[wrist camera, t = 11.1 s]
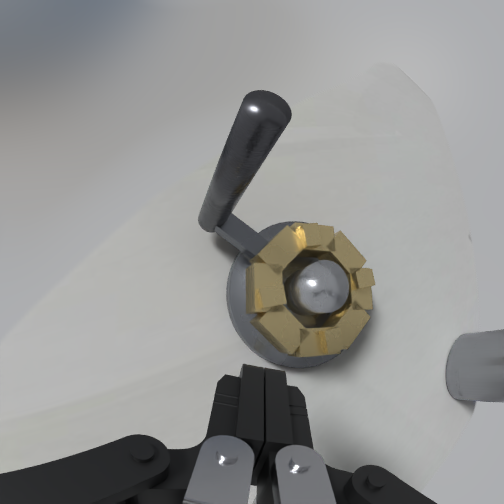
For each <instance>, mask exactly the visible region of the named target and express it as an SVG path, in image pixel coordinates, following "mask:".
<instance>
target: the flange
mask: <svg viewBox="0 0 504 504" xmlns="http://www.w3.org/2000/svg"><path fill="white" fill-rule="evenodd" d="M295 222H296V223H305V222H297V221H295ZM295 222H283V223H278V224H275V225H272V226H270V227H268V228H266V229H264V230H262V231H261V232H259V233H258V234H259V235H261V236H262V237H263V238H265V239H266V240H267V241H270V240H271V239H272V238H273V237H274V236H275V235H276V234H277V233H279V232H280V231H281V230H282V229H283V228H285V227H286V226H287V225H288V226H289V227H290V226H291V225H293V224H294V223H295ZM306 224H309V223H306ZM250 260H251V259H250V258H249V257H248V256H246V255H245V254H244V253H242V252H241V251H240V252H239V253H238V255H237V257H236V258H235V260H234V262H233V264H232V267H231V269H230V273H229V276H228V281H227V294H226V298H227V306H228V311H229V315H230V318H231V321H232V323H233V326H234V328H235V330H236V331H237V333H238V335H239V336H240V338H241V339H242V340H243V342H244V343H245V344H246V345H247V346H248V347H249V348H250V349H251V350H252V351H253V352H255V353H256V354H257V355H259V356H260V357H262V358H264V359H265V360H267V361H270V362H272V363H275V364H279V365H283V366H288V367H294V368H306V367H313V366H317V365H320V364H322V363H325V362H327V361H329V360H331V359H332V358H334V357H335V356H337V355H338V354H332V355H322V356H311V357H294V356H288V354H286V353H280V352H279V351H278V350H277V349H276V348H275V347H274V346H273V345H272V344H271V343H270V342H269V341H268V340H267V339H266V338H265V337H264V336H263V335H262V334H261V333H260V332H259V331H258V330H257V329H256V328H255V327H254V326H253V325H252V324H251V323H250V321H251V320H252V319H253V318H254V317H255V316H256V315H257V314H246V268H248V267H249V266H251V265H252V264H251V263H250V262H249V261H250ZM282 282H283V286H284V291H285V296H286V301H287V304H283V305H284V306H285V307H286V308H287V309H288V310H289V311H290V312H291V314H292V315H293V316H294V317H295V318H296V319H297V320H298V321H299V322H300V323H301V324H302V325H303V326H304V327H305V328H320V327H321V326H322V325H323V324H324V323H325V321H326V320H327V319H328V318H329V316H330V315H331V314H332V313H333V312H334V311H336V310H338V309H339V308H341V307H342V306H343V305H344V303H345V302H346V300H347V297H348V294H349V283H348V279H347V276H346V274H345V272H344V271H343V269H342V268H341V267H340V266H339V265H338V264H336V263H335V262H332V261H329V260H320V261H319V260H318V259H317V258H309V257H295V258H294V259H293V260H292V261H291V262H290V263H289V264H288V265H287V266H286V267H285V268H284V269H283V271H282ZM343 350H344V349H342V350H341V352H342V351H343Z"/></svg>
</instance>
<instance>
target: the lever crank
mask: <svg viewBox="0 0 504 504" xmlns="http://www.w3.org/2000/svg"><path fill="white" fill-rule="evenodd" d="M291 116H292V113H291V109H290V107H289V105H288V104H287V103H286V101H285V100H284V99H282V98H281V97H280V96H278V95H276V94H274V93H272V92H269V91H264V90H257V91H253V92H250V93H248V94H247V95H246V96H245V98H244V99H243V102H242V104H241V107H240V109H239V111H238V114H237V116H236V119H235V121H234V124H233V126H232V129H231V131H230V134H229V136H228V138H227V141H226V144H225V146H224V149H223V151H222V154H221V156H220V159H219V162H218V164H217V167H216V170H215V172H214V175H213V178H212V180H211V183H210V186H209V188H208V191H207V194H206V197H205V200H204V202H203V205H202V208H201V211H200V214H199V217H198V221H199V224H200V226H201V228H202V229H204V230H205V231H207V232H216V233H217V234H219V235H220V236H221V237H223V238H224V239H225V240H227V241H228V242H229V243H231V244H232V245H233V246H235V247H236V248H237V249H238V250H240V251H241V252H242V253H244V254H245V255H246V256H248V257H249V258H250V259H251V260H250V261H249V262H250V263H251V264H252V265H251V266H249V267H248V268H246V314H257V315H256V316H255V317H254V318H253V319H252V320H251V321H250V323H251V324H252V325H253V326H254V327H255V328H256V329H257V330H258V331H259V332H260V333H261V334H262V335H263V336H264V337H265V338H266V339H267V340H268V341H269V342H270V343H271V344H272V345H273V346H274V347H275V348H276V349H277V350H278V351H279V352H280V353H286V354H288V356H294V357H311V356H322V355H332V354H341V350H342V349H348V348H349V347H350V345H351V344H352V343H353V341H354V340H355V338H356V337H357V336H358V334H359V333H360V331H361V330H362V329H363V327H364V326H365V324H366V323H367V321H368V320H369V319H370V316H369V315H368V314H367V312H366V311H365V310H371V309H373V307H372V291H371V286H373V285H375V281H374V276H373V272H372V269H370V268H362V266H363V265H364V264H365V262H366V260H365V258H364V257H363V256H362V255H361V254H360V252H359V251H358V250H357V249H356V248H355V247H354V246H353V244H352V243H351V242H350V241H349V240H348V239H347V237H346V236H345V235H344V234H343V233H342V232H341V231H339V232H337V233H335V234H334V228H333V227H332V226H324V225H318V223H309V224H306V223H296V222H295V223H294V224H293V225H291V226H290V227H289V226H288V225H287V226H286V227H285V228H283V229H282V230H281V231H280V232H279V233H277V234H276V235H275V236H274V237H273V238H272V239H271V240H270V241H267V240H266V239H265V238H263V237H262V236H261V235H259V234H258V233H257V232H256V231H254V230H253V229H252V228H250V227H249V226H248V225H246V224H245V223H244V222H242V221H241V220H240V219H239V218H237V217H236V216H235V215H233V214H232V211H233V210H234V208H235V206H236V205H237V203H238V201H239V200H240V198H241V197H242V195H243V193H244V192H245V190H246V189H247V187H248V185H249V184H250V182H251V181H252V179H253V177H254V176H255V174H256V173H257V171H258V170H259V168H260V166H261V165H262V163H263V162H264V160H265V159H266V157H267V155H268V154H269V152H270V151H271V149H272V148H273V146H274V145H275V143H276V142H277V140H278V138H279V137H280V135H281V134H282V132H283V131H284V129H285V128H286V126H287V125H288V123H289V122H290V120H291ZM295 257H309V258H317V259H318V260H319V261H320V260H329V261H332V262H335V263H336V264H338V265H339V266H340V267H341V268H342V269H343V271H344V272H345V274H346V276H347V279H348V283H349V294H348V297H347V300H346V302H345V303H344V305H343V306H342V307H341V308H339V309H338V310H336V311H334V312H333V313H332V314H331V315H330V316H329V318H328V319H327V320H326V321H325V323H324V324H323V325H322V326H321V327H320V328H305V327H304V326H303V325H302V324H301V323H300V322H299V321H298V320H297V319H296V318H295V317H294V316H293V315H292V314H291V312H290V311H289V310H288V309H287V308H286V307H285V306H284V305H283V304H287V301H286V296H285V291H284V286H283V282H282V271H283V269H284V268H285V267H286V266H287V265H288V264H289V263H290V262H291V261H292V260H293V259H294V258H295Z"/></svg>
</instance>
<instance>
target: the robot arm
mask: <svg viewBox="0 0 504 504" xmlns="http://www.w3.org/2000/svg"><path fill="white" fill-rule="evenodd" d="M446 381H447V387H448V390H449V392H450V394H451V395H452V397H453V398H455V399H461V400H472V401H486V402H504V329H503V330H496V331H486V332H478V333H469V334H463V335H461V336H460V337H459V338H458V339H457V340H456V341H455V343H454V344H453V346H452V348H451V351H450V354H449V357H448V361H447V368H446ZM307 416H308V414H307V409H306V402H305V397H304V395H303V394H302V393H301V391H300V390H299V389H298V387H295V386H288V385H287V380H286V372H285V371H281V370H275V369H269V368H263V367H257V366H252V365H247V364H243V365H242V368H241V372H240V376H239V377H235V376H231V375H226V374H225V375H224V376H223V377H222V378H221V379H220V380H219V381H218V383H217V387H216V392H215V397H214V402H213V406H212V411H211V416H210V421H209V425H208V430H207V434H206V437H205V439H204V440H203V441H202V442H201V443H200V444H199V445H197V446H195V447H192V448H188V449H167V447H166V446H165V445H164V444H163V443H162V442H160V441H159V440H157V439H155V438H153V437H151V436H147V435H140V434H137V435H130V436H126V437H124V438H121V439H119V440H116V441H113V442H110V443H108V444H105V445H102V446H99V447H96V448H93V449H91V450H88V451H85V452H81V453H78V454H75V455H72V456H69V457H65V458H62V459H59V460H55V461H52V462H48V463H45V464H41V465H37V466H33V467H29V468H25V469H21V470H16V471H12V472H7V473H3V474H0V504H248V498H249V491H250V485H254V486H257V495H256V497H255V499H254V501H253V504H437V503H435V502H434V501H432V500H431V499H429V498H427V497H426V496H424V495H423V494H421V493H420V492H418V491H417V490H415V489H414V488H412V487H411V486H409V485H408V484H406V483H405V482H403V481H402V480H400V479H399V478H397V477H396V476H395V475H393V474H392V473H390V472H389V471H387V470H386V469H384V468H382V467H379V466H375V465H366V466H362V467H360V468H359V469H357V470H356V471H355V472H354V473H350V472H346V471H342V470H338V469H335V468H332V467H330V466H328V465H326V464H325V462H324V460H323V458H322V457H321V455H320V454H319V453H317V452H316V451H315V450H314V449H313V443H312V437H311V431H310V425H309V420H308V418H307Z"/></svg>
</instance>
